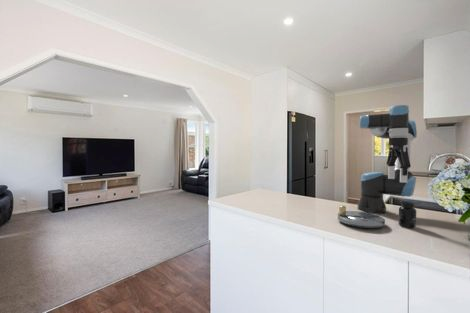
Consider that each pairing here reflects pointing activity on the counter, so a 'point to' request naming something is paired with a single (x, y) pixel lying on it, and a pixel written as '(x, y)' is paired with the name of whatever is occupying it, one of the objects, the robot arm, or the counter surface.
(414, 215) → the supplement bottle
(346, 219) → the turntable
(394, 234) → the counter surface
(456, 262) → the counter surface
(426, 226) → the counter surface
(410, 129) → the robot arm
